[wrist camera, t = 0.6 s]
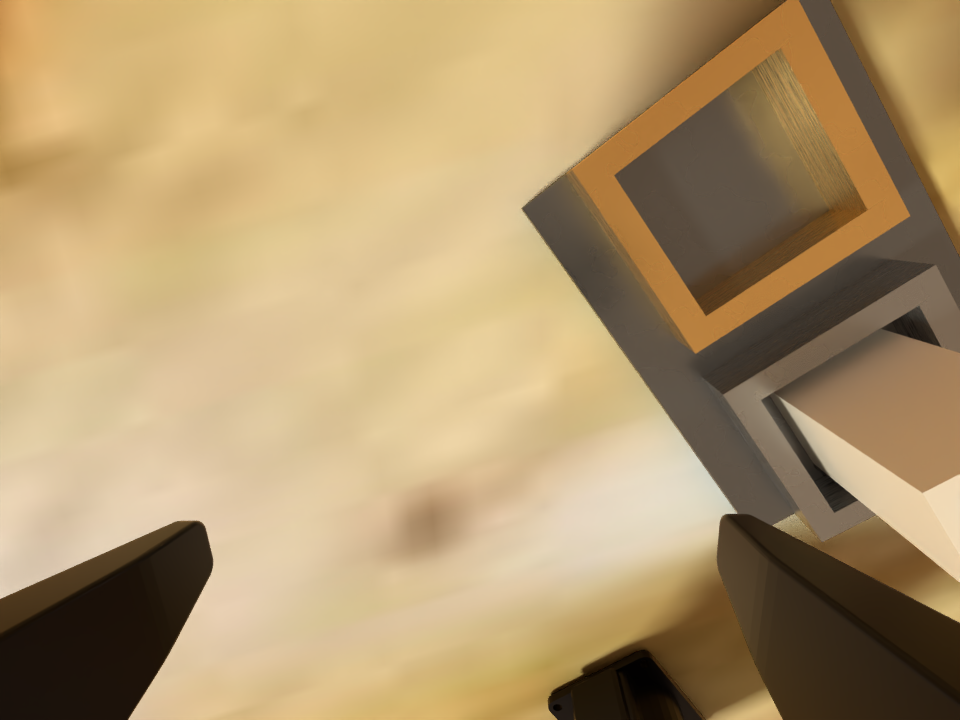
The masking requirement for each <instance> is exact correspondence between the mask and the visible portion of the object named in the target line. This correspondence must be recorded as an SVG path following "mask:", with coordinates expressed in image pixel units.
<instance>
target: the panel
mask: <svg viewBox="0 0 960 720" xmlns="http://www.w3.org/2000/svg"><path fill="white" fill-rule="evenodd" d="M521 209H522V210H523V212H524V213H525V215H526V216H527V217H528V219H529V220H530V222H531V223H532V225H533V226H534V227H535V229H536V230H537V232H538V233H539V234H540V236H541V237H542V239H543V240H544V241H545V243H546V244H547V246H548V247H549V249H550V250H551V251H552V253H553V254H554V256H555V257H556V258H557V260H558V261H559V263H560V264H561V265H562V267H563V268H564V270H565V271H566V272H567V274H568V275H569V277H570V278H571V280H572V281H573V282H574V284H575V285H576V287H577V288H578V289H579V291H580V292H581V294H582V295H583V296H584V298H585V299H586V301H587V302H588V303H589V305H590V306H591V308H592V309H593V311H594V312H595V313H596V315H597V316H598V318H599V319H600V320H601V322H602V323H603V325H604V326H605V327H606V329H607V330H608V332H609V333H610V335H611V336H612V337H613V339H614V340H615V342H616V343H617V344H618V346H619V347H620V349H621V350H622V351H623V353H624V354H625V356H626V357H627V358H628V360H629V361H630V363H631V364H632V366H633V367H634V368H635V370H636V371H637V373H638V374H639V375H640V377H641V378H642V380H643V381H644V382H645V384H646V385H647V387H648V388H649V390H650V391H651V392H652V394H653V395H654V397H655V398H656V399H657V401H658V402H659V404H660V405H661V406H662V408H663V409H664V411H665V412H666V413H667V415H668V416H669V418H670V419H671V421H672V422H673V423H674V425H675V426H676V428H677V429H678V430H679V432H680V433H681V435H682V436H683V437H684V439H685V440H686V442H687V443H688V445H689V446H690V447H691V449H692V450H693V452H694V453H695V454H696V456H697V457H698V459H699V460H700V461H701V463H702V464H703V466H704V467H705V468H706V470H707V471H708V473H709V474H710V476H711V477H712V478H713V480H714V481H715V483H716V484H717V485H718V487H719V488H720V490H721V491H722V492H723V494H724V495H725V497H726V498H727V499H728V501H729V502H730V504H731V505H732V507H733V508H734V509H735V511H736V512H737V514H750V515H752V516H754V517H756V518H758V519H760V520H762V521H764V522H765V523H767V524H769V525H771V526H772V525H773V524H775V523H777V522H779V521H781V520H783V519H785V518H787V517H788V516H790V515H792V514H794V513H795V515H796V516H797V517H798V518H799V519H800V520H801V521H802V522H803V523H804V524H805V525H806V526H807V527H808V528H809V529H810V530H811V531H812V532H813V533H814V534H815V535H816V536H817V538H818V539H819V540H820V541H821V542H824V541H826V540H828V539H830V538H832V537H834V536H836V535H838V534H840V533H842V532H844V531H845V530H847V529H849V528H851V527H853V526H855V525H857V524H859V523H861V522H863V521H865V520H867V519H869V518H871V517H873V516H875V515H876V514H875V513H874V512H873V511H871V510H870V509H869V508H868V507H866V506H865V505H864V504H863V503H861V502H860V501H859V500H858V499H857V498H855V497H854V496H853V495H852V494H850V493H849V492H848V491H847V490H846V489H844V488H843V487H842V486H841V485H839V484H838V483H837V482H836V481H834V480H833V479H832V478H831V477H830V476H828V475H827V474H826V473H825V472H823V471H822V470H821V469H820V468H819V467H817V466H816V465H815V464H814V463H813V462H812V460H811V459H810V457H809V456H808V454H807V453H806V451H805V450H804V448H803V446H802V445H801V443H800V442H799V440H798V439H797V437H796V436H795V434H794V433H793V431H792V429H791V428H790V426H789V425H788V423H787V422H786V420H785V419H784V417H783V415H782V414H781V412H780V411H779V409H778V408H777V406H776V405H775V403H774V402H773V400H772V398H771V397H770V394H772V393H774V392H775V391H777V390H779V389H780V388H782V387H784V386H785V385H787V384H789V383H790V382H792V381H794V380H795V379H797V378H799V377H800V376H802V375H804V374H805V373H807V372H809V371H810V370H812V369H814V368H815V367H817V366H819V365H820V364H822V363H824V362H825V361H827V360H829V359H830V358H832V357H834V356H835V355H837V354H839V353H840V352H842V351H844V350H845V349H847V348H849V347H850V346H852V345H854V344H855V343H857V342H859V341H861V340H862V339H864V338H866V337H867V336H869V335H871V334H872V333H874V332H876V331H877V330H879V329H883V330H886V331H890V332H893V333H896V334H899V335H903V336H906V337H909V338H912V339H916V340H919V341H922V342H926V343H929V344H932V345H935V346H939V347H942V348H945V349H948V350H952V351H955V352H958V353H960V257H959V255H958V253H957V251H956V249H955V247H954V245H953V243H952V241H951V239H950V237H949V235H948V233H947V231H946V229H945V227H944V226H943V224H942V222H941V220H940V218H939V216H938V214H937V212H936V210H935V208H934V206H933V204H932V202H931V200H930V198H929V196H928V194H927V192H926V190H925V188H924V186H923V184H922V182H921V180H920V178H919V176H918V174H917V172H916V170H915V168H914V166H913V164H912V162H911V160H910V158H909V156H908V154H907V152H906V150H905V148H904V146H903V144H902V142H901V140H900V138H899V136H898V134H897V132H896V130H895V128H894V126H893V124H892V122H891V120H890V118H889V116H888V114H887V112H886V111H885V109H884V107H883V105H882V103H881V101H880V99H879V97H878V95H877V93H876V91H875V89H874V87H873V85H872V83H871V81H870V79H869V77H868V75H867V73H866V71H865V69H864V67H863V65H862V63H861V61H860V59H859V57H858V55H857V53H856V51H855V49H854V47H853V45H852V43H851V41H850V39H849V37H848V35H847V33H846V31H845V29H844V27H843V25H842V23H841V21H840V19H839V17H838V15H837V13H836V11H835V9H834V7H833V5H832V3H831V1H830V0H786V1H785V2H783V3H782V4H781V5H780V6H778V7H777V8H776V9H775V10H773V11H772V12H771V13H769V14H768V15H767V16H766V17H764V18H763V19H762V20H761V21H759V22H758V23H757V24H755V25H754V26H753V27H752V28H750V29H749V30H748V31H747V32H745V33H744V34H743V35H741V36H740V37H739V38H738V39H736V40H735V41H734V42H733V43H731V44H730V45H729V46H727V47H726V48H725V49H724V50H722V51H721V52H720V53H719V54H717V55H716V56H715V57H713V58H712V59H711V60H710V61H708V62H707V63H706V64H705V65H703V66H702V67H701V68H699V69H698V70H697V71H696V72H694V73H693V74H692V75H691V76H689V77H688V78H687V79H685V80H684V81H683V82H682V83H680V84H679V85H678V86H677V87H675V88H674V89H673V90H671V91H670V92H669V93H668V94H666V95H665V96H664V97H663V98H661V99H660V100H659V101H658V102H656V103H655V104H654V105H652V106H651V107H650V108H649V109H647V110H646V111H645V112H644V113H642V114H641V115H640V116H638V117H637V118H636V119H635V120H633V121H632V122H631V123H630V124H628V125H627V126H626V127H624V128H623V129H622V130H621V131H619V132H618V133H617V134H616V135H614V136H613V137H612V138H610V139H609V140H608V141H607V142H605V143H604V144H603V145H602V146H600V147H599V148H598V149H596V150H595V151H594V152H593V153H591V154H590V155H589V156H588V157H586V158H585V159H584V160H582V161H581V162H580V163H579V164H577V165H576V166H575V167H574V168H572V169H571V170H570V171H568V172H567V173H566V174H565V175H563V176H562V177H561V178H560V179H558V180H557V181H556V182H554V183H553V184H552V185H551V186H549V187H548V188H547V189H546V190H544V191H543V192H542V193H540V194H539V195H538V196H537V197H535V198H534V199H533V200H532V201H530V202H529V203H528V204H526V205H525V206H524V207H523V208H521Z"/></svg>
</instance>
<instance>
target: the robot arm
mask: <svg viewBox="0 0 960 720" xmlns="http://www.w3.org/2000/svg"><path fill="white" fill-rule="evenodd" d="M717 565H718V570H719V573H720V576H721V578H722V581H723V583H724V586H725V588H726V591H727V594H728V596H729V599H730V601H731V604H732V607H733V609H734V612H735V614H736V617H737V619H738V622H739V625H740V627H741V630H742V632H743V635H744V638H745V640H746V643H747V645H748V648H749V650H750V653H751V655H752V658H753V660H754V662H755V665H756V667H757V669H758V671H759V673H760V675H761V677H762V679H763V681H764V683H765V685H766V687H767V689H768V691H769V693H770V695H771V697H772V699H773V701H774V703H775V705H776V707H777V709H778V711H779V713H780V715H781V717H782V719H783V720H960V623H959V622H957V621H955V620H953V619H951V618H949V617H947V616H945V615H943V614H941V613H940V612H938V611H936V610H934V609H932V608H930V607H928V606H926V605H924V604H922V603H920V602H918V601H916V600H914V599H912V598H911V597H909V596H907V595H905V594H903V593H901V592H899V591H897V590H895V589H893V588H891V587H889V586H887V585H885V584H883V583H881V582H880V581H878V580H876V579H874V578H872V577H870V576H868V575H866V574H864V573H862V572H860V571H858V570H856V569H854V568H852V567H851V566H849V565H847V564H845V563H843V562H841V561H839V560H837V559H835V558H833V557H831V556H829V555H827V554H825V553H823V552H822V551H820V550H818V549H816V548H814V547H812V546H810V545H808V544H806V543H804V542H802V541H800V540H798V539H796V538H794V537H793V536H791V535H789V534H787V533H785V532H783V531H781V530H779V529H777V528H775V527H773V526H771V525H769V524H767V523H765V522H764V521H762V520H760V519H758V518H756V517H754V516H752V515H750V514H725V515H724V516H723V517H722V518H721V520H720V526H719V537H718V548H717ZM212 568H213V557H212V552H211V548H210V544H209V540H208V536H207V532H206V528H205V526H204V524H203V523H202V522H200V521H177V522H174V523H172V524H169V525H167V526H165V527H162V528H160V529H158V530H156V531H153V532H151V533H149V534H147V535H144V536H142V537H140V538H138V539H135V540H133V541H131V542H128V543H126V544H124V545H122V546H119V547H117V548H115V549H113V550H110V551H108V552H106V553H104V554H101V555H99V556H97V557H94V558H92V559H90V560H88V561H85V562H83V563H81V564H79V565H76V566H74V567H72V568H69V569H67V570H65V571H63V572H60V573H58V574H56V575H54V576H51V577H49V578H47V579H45V580H42V581H40V582H38V583H35V584H33V585H31V586H29V587H26V588H24V589H22V590H20V591H17V592H15V593H13V594H10V595H8V596H6V597H4V598H1V599H0V720H128V719H129V717H130V716H131V714H132V713H133V711H134V709H135V708H136V706H137V705H138V703H139V702H140V700H141V698H142V697H143V695H144V694H145V692H146V690H147V689H148V687H149V686H150V684H151V683H152V681H153V679H154V678H155V676H156V675H157V673H158V671H159V670H160V668H161V667H162V665H163V663H164V662H165V660H166V658H167V656H168V655H169V653H170V651H171V649H172V647H173V646H174V644H175V642H176V640H177V638H178V636H179V634H180V632H181V630H182V628H183V627H184V625H185V623H186V621H187V619H188V617H189V615H190V613H191V611H192V609H193V607H194V605H195V604H196V602H197V600H198V598H199V596H200V594H201V592H202V590H203V588H204V586H205V584H206V582H207V581H208V579H209V577H210V575H211V572H212ZM548 708H549V711H550V712H551V713H552V714H553V715H554V716H555V717H556V718H557V719H558V720H705V718H704V717H703V716H702V715H701V713H700V712H699V711H698V710H697V708H696V707H695V706H694V705H693V704H692V702H691V701H690V700H689V699H688V698H687V696H686V695H685V694H684V693H683V692H682V690H681V689H680V688H679V687H678V686H677V684H676V683H675V682H674V681H673V679H672V678H671V677H670V676H669V675H668V673H667V672H666V671H665V670H664V669H663V667H662V666H661V665H660V664H659V663H658V661H657V660H656V659H655V658H654V656H653V655H652V654H651V653H650V652H648V651H645V650H641V651H638V652H636V653H634V654H632V655H630V656H628V657H626V658H624V659H622V660H620V661H618V662H616V663H614V664H612V665H610V666H608V667H606V668H604V669H602V670H600V671H598V672H596V673H594V674H592V675H590V676H588V677H586V678H584V679H582V680H580V681H578V682H576V683H574V684H572V685H570V686H568V687H566V688H564V689H562V690H560V691H558V692H556V693H554V694H552V695H551V696H550V697H549V698H548Z"/></svg>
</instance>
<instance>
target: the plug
mask: <svg viewBox="0 0 960 720" xmlns="http://www.w3.org/2000/svg"><path fill="white" fill-rule="evenodd" d="M770 397H771V398H772V400H773V402H774V403H775V405H776V406H777V408H778V409H779V411H780V412H781V414H782V415H783V417H784V419H785V420H786V422H787V423H788V425H789V426H790V428H791V429H792V431H793V433H794V434H795V436H796V437H797V439H798V440H799V442H800V443H801V445H802V446H803V448H804V450H805V451H806V453H807V454H808V456H809V457H810V459H811V460H812V462H813V463H814V464H815V465H816V466H817V467H819V468H820V469H821V470H822V471H823V472H825V473H826V474H827V475H828V476H830V477H831V478H832V479H833V480H834V481H836V482H837V483H838V484H839V485H841V486H842V487H843V488H844V489H846V490H847V491H848V492H849V493H850V494H852V495H853V496H854V497H855V498H857V499H858V500H859V501H860V502H861V503H863V504H864V505H865V506H866V507H868V508H869V509H870V510H871V511H873V512H874V513H875V514H876V515H877V516H879V517H880V518H881V519H882V520H884V521H885V522H886V523H887V524H888V525H890V526H891V527H892V528H893V529H895V530H896V531H897V532H898V533H900V534H901V535H902V536H903V537H904V538H906V539H907V540H908V541H909V542H911V543H912V544H913V545H914V546H915V547H917V548H918V549H919V550H920V551H922V552H923V553H924V554H925V555H927V556H928V557H929V558H930V559H931V560H933V561H934V562H935V563H936V564H938V565H939V566H940V567H941V568H942V569H944V570H945V571H946V572H947V573H949V574H950V575H951V576H952V577H953V578H955V579H956V580H957V581H958V582H960V353H958V352H955V351H952V350H948V349H945V348H942V347H939V346H935V345H932V344H929V343H926V342H922V341H919V340H916V339H912V338H909V337H906V336H903V335H899V334H896V333H893V332H890V331H886V330H883V329H879V330H877V331H876V332H874V333H872V334H871V335H869V336H867V337H866V338H864V339H862V340H861V341H859V342H857V343H855V344H854V345H852V346H850V347H849V348H847V349H845V350H844V351H842V352H840V353H839V354H837V355H835V356H834V357H832V358H830V359H829V360H827V361H825V362H824V363H822V364H820V365H819V366H817V367H815V368H814V369H812V370H810V371H809V372H807V373H805V374H804V375H802V376H800V377H799V378H797V379H795V380H794V381H792V382H790V383H789V384H787V385H785V386H784V387H782V388H780V389H779V390H777V391H775V392H774V393H772V394H770Z"/></svg>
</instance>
